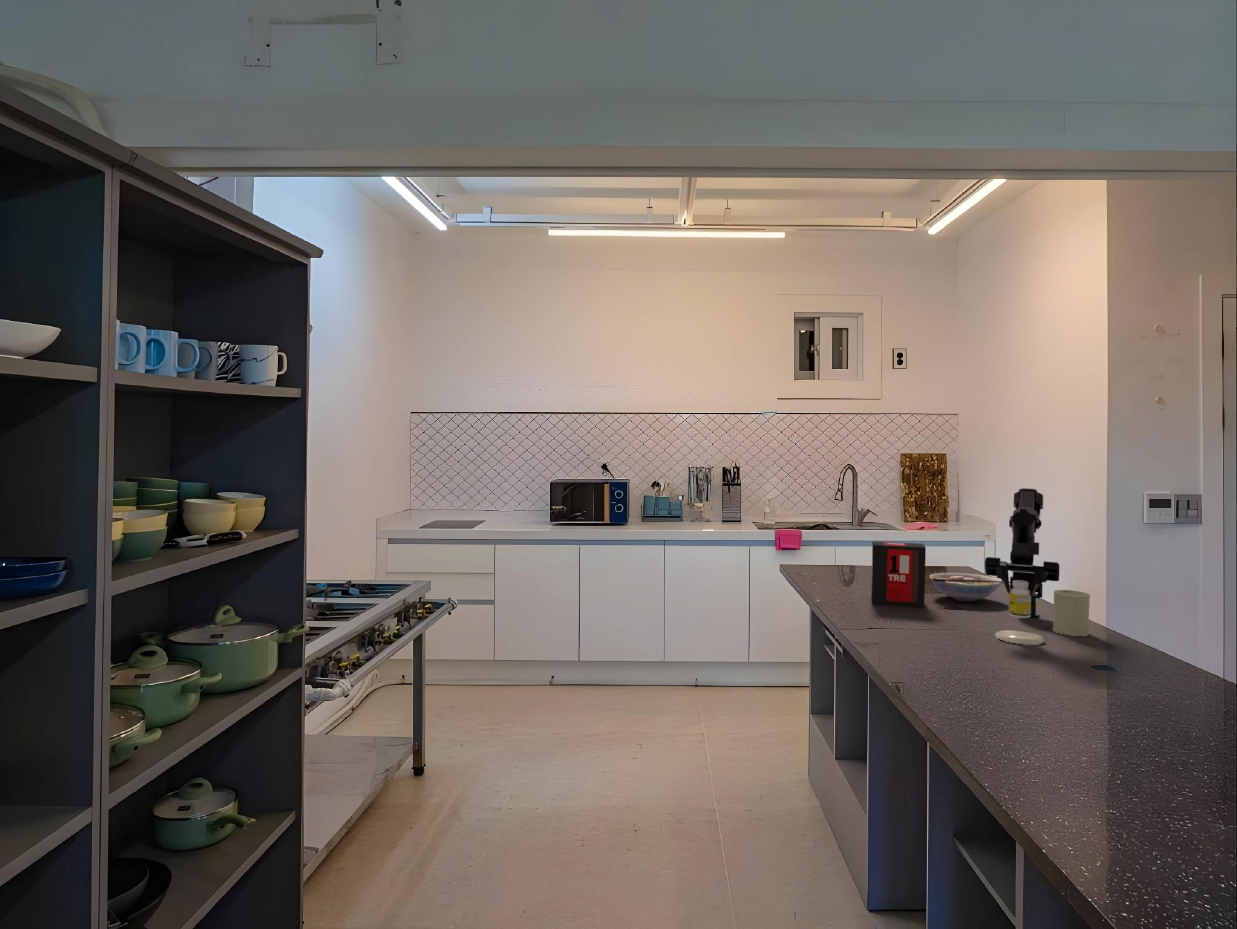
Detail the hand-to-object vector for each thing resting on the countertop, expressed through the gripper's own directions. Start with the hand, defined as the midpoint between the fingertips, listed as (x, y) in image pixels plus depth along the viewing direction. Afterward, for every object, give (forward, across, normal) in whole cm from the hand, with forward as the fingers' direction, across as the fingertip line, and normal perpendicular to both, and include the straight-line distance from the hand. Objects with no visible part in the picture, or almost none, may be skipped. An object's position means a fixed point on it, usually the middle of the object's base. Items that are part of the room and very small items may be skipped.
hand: (1019, 593), depth 216 cm
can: (-3, +13, +22) cm, 26 cm away
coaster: (+9, 0, +10) cm, 13 cm away
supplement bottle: (+4, 0, +6) cm, 7 cm away
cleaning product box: (-13, -38, +33) cm, 52 cm away
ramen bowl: (-26, -19, +46) cm, 56 cm away
